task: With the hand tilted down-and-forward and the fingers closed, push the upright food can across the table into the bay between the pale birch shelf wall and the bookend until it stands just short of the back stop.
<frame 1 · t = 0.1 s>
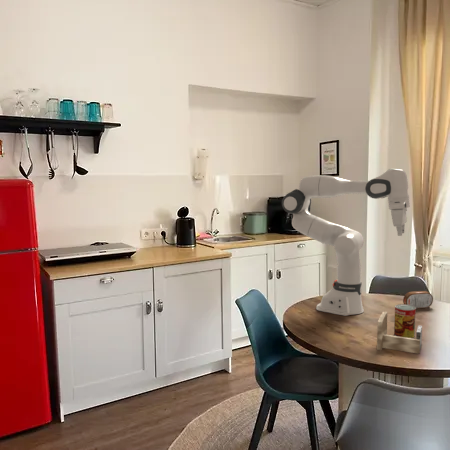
hand: (401, 234, 199), 39 cm above the table, tool pointing down, fingers open, 8 cm apart
canned food: (404, 335, 180), on the table
tin: (418, 308, 216), on the table
bookend: (418, 348, 166), on the table
shelf wall: (400, 347, 168), on the table
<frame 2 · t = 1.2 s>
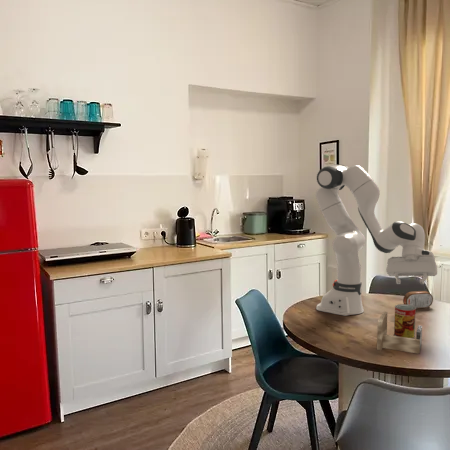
hand: (409, 283, 185), 20 cm above the table, tool tilted 45°, fingers open, 8 cm apart
nothing on the table moved.
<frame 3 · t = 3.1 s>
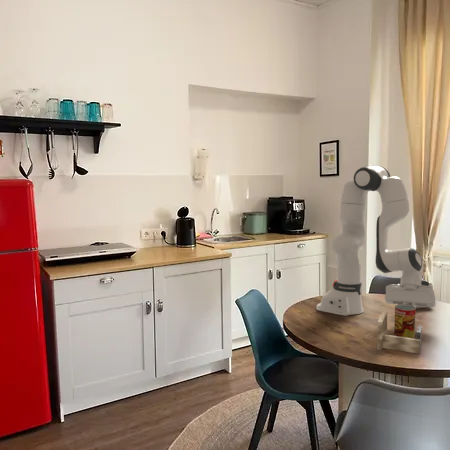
hand: (408, 313, 186), 7 cm above the table, tool tilted 45°, fingers closed
nothing on the table moved.
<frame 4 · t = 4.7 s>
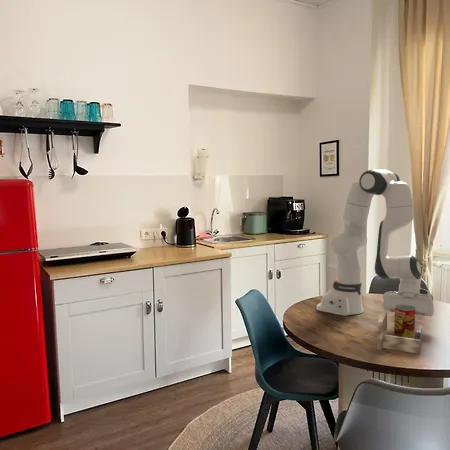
hand: (406, 321, 183), 4 cm above the table, tool tilted 45°, fingers closed, pressing on canned food
canned food: (404, 335, 180), on the table, touching gripper
everything else where it was.
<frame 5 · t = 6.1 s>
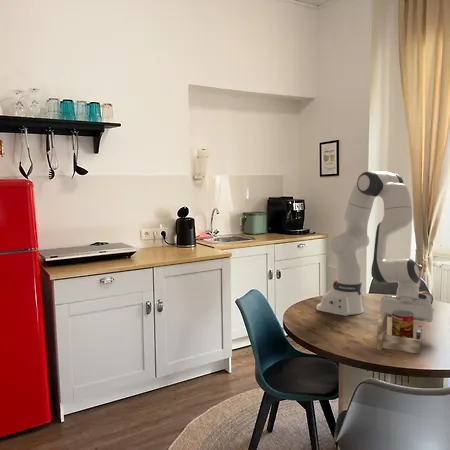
hand: (404, 327, 176), 4 cm above the table, tool tilted 45°, fingers closed, pressing on canned food
canned food: (402, 342, 173), on the table, touching gripper
everything else where it was.
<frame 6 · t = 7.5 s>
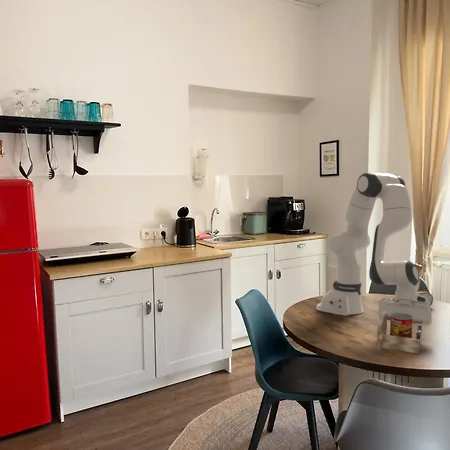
hand: (402, 331, 173), 4 cm above the table, tool tilted 45°, fingers closed, pressing on canned food
canned food: (400, 346, 170), on the table, touching gripper
everything else where it was.
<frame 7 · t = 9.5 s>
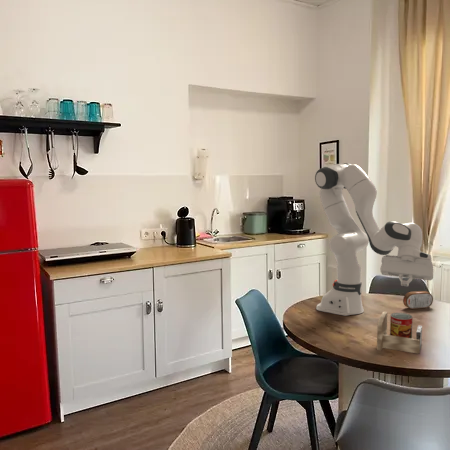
hand: (404, 285, 177), 21 cm above the table, tool tilted 45°, fingers closed
canned food: (400, 346, 170), on the table
everything else where it was.
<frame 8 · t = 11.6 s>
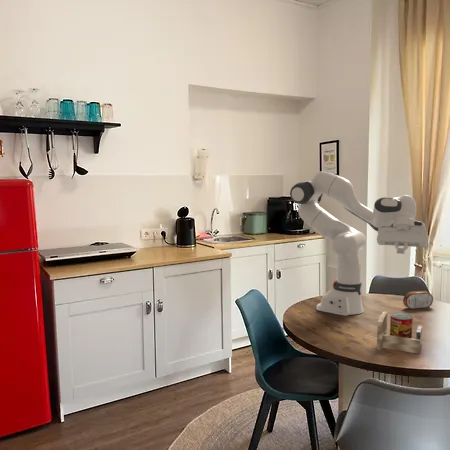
hand: (400, 252, 183), 33 cm above the table, tool tilted 45°, fingers closed
nothing on the table moved.
at the end: canned food inside the target area (0.7 cm from its centre), on the table; canned food tilted 0° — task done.
